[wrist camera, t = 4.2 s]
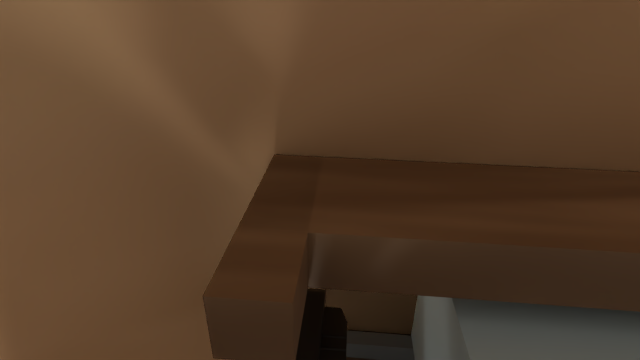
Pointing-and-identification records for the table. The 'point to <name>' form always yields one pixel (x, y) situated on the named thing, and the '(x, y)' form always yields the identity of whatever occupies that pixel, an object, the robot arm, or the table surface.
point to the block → (521, 331)
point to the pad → (379, 346)
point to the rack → (421, 242)
